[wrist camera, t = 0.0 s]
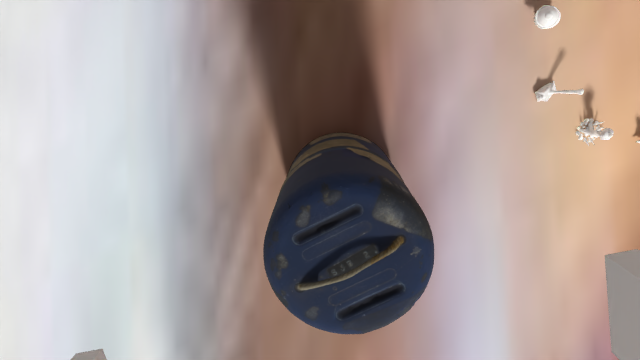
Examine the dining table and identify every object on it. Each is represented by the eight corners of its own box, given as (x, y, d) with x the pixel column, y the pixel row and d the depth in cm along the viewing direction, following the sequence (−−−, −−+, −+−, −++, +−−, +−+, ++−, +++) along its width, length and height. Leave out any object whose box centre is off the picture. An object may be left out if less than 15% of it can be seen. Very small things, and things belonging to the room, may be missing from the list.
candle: (277, 142, 38) (230, 204, 21) (382, 118, 38) (425, 160, 20) (303, 241, 41) (281, 370, 23) (403, 219, 40) (458, 337, 22)
